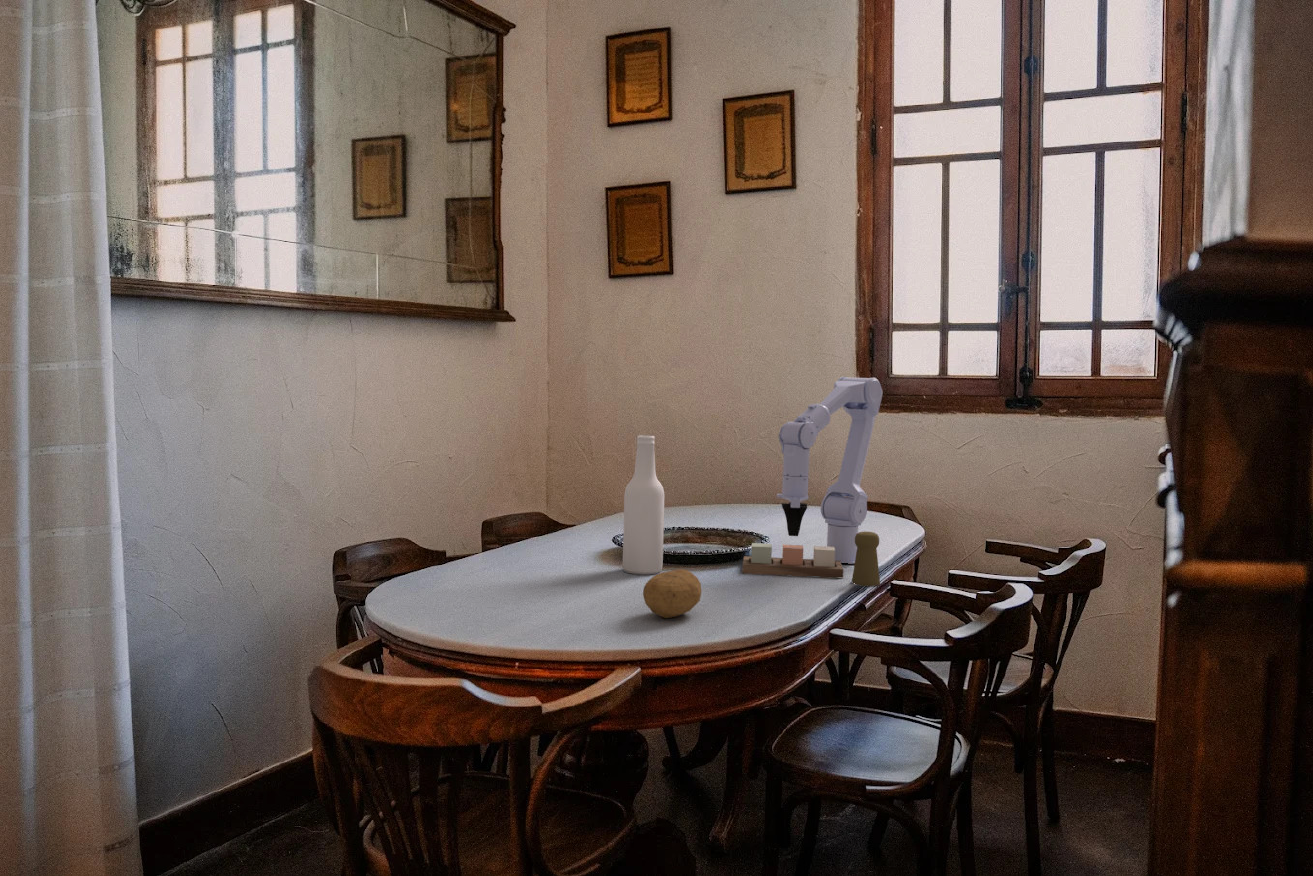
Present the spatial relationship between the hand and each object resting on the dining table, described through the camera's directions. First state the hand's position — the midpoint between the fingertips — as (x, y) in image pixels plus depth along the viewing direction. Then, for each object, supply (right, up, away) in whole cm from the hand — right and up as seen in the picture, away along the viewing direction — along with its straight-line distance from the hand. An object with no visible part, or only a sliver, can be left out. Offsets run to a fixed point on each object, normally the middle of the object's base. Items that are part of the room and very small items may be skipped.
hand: (793, 535), depth 232 cm
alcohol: (-34, -8, -4) cm, 35 cm away
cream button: (+7, -7, 0) cm, 10 cm away
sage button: (-7, -6, +1) cm, 9 cm away
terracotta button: (0, -7, +1) cm, 7 cm away
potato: (-28, -11, -43) cm, 53 cm away
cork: (+14, -9, -10) cm, 20 cm away
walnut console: (0, -8, +1) cm, 8 cm away
